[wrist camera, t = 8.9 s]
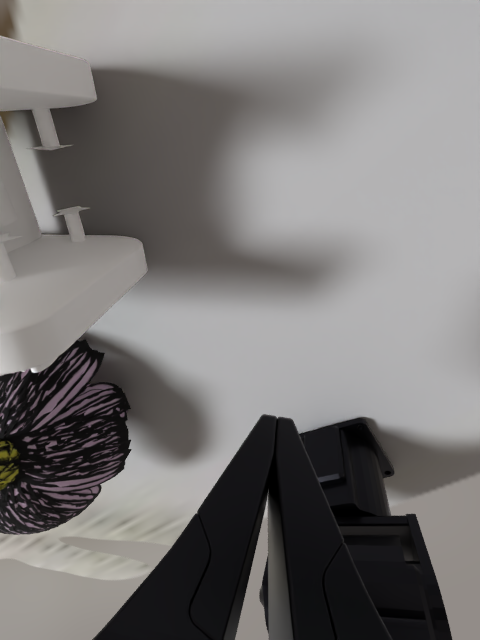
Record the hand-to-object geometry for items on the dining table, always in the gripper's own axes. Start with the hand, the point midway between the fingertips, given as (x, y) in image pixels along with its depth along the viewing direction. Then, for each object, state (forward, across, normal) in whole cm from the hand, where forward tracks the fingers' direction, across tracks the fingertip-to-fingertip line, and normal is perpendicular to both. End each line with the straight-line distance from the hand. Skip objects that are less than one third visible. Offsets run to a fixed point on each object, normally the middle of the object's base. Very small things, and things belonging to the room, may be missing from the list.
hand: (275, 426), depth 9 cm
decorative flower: (+12, +18, +14) cm, 25 cm away
